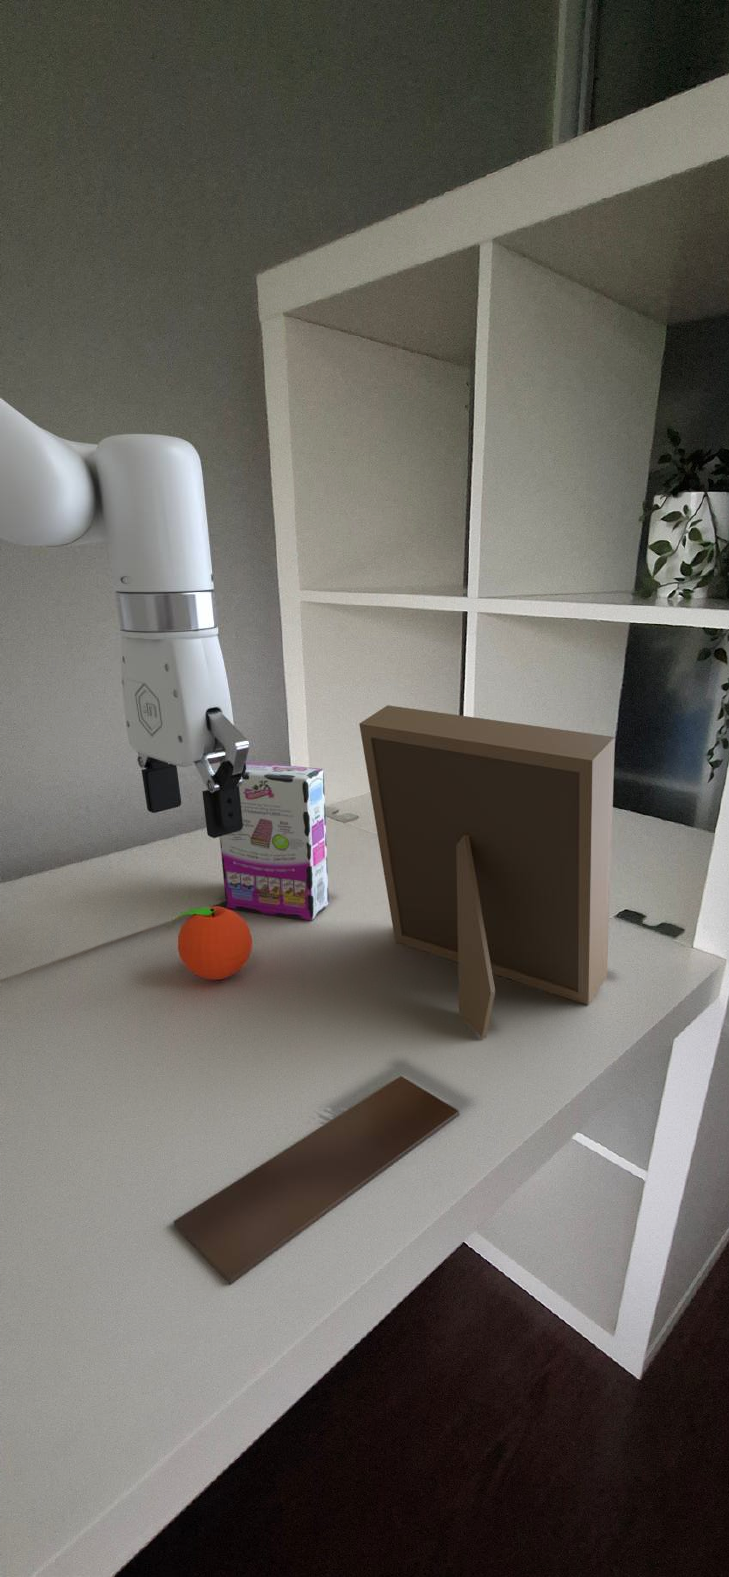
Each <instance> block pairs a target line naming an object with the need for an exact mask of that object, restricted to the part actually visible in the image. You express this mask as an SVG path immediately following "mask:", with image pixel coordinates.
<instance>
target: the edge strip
mask: <svg viewBox="0 0 729 1577" xmlns="http://www.w3.org/2000/svg"><path fill="white" fill-rule="evenodd" d="M459 1116H460V1110H458V1109H457V1108H455V1107H453V1106H452V1105H450V1104H449V1103H447V1102H445V1101H444V1100H442V1099H440V1098H438V1097H437V1096H436V1095H434V1094H431V1093H430V1092H428V1091H427V1090H426V1089H423V1088H422V1087H420V1086H418V1085H417V1084H415V1083H414V1082H413V1081H410V1080H408V1079H407V1078H405V1077H404V1076H402V1075H400V1076H399V1077H397V1078H395V1079H394V1080H392V1081H390V1082H389V1083H387V1084H386V1085H384V1086H383V1087H381V1088H379V1089H378V1090H376V1091H375V1092H373V1093H372V1094H370V1095H368V1096H367V1097H365V1098H364V1099H363V1100H361V1101H360V1102H358V1103H356V1104H355V1105H353V1106H351V1107H350V1108H348V1109H347V1110H345V1111H344V1112H342V1113H341V1114H339V1115H338V1116H336V1117H334V1118H332V1119H331V1120H330V1121H328V1122H326V1123H325V1124H323V1125H322V1126H320V1127H319V1128H317V1129H316V1130H314V1131H312V1132H311V1133H309V1134H308V1135H306V1136H305V1137H303V1138H301V1139H300V1140H298V1141H297V1142H295V1143H294V1144H292V1145H290V1146H289V1147H287V1148H286V1149H284V1150H283V1151H281V1152H279V1153H278V1154H276V1155H275V1156H273V1157H272V1158H270V1159H268V1160H267V1161H266V1162H264V1163H262V1164H260V1165H259V1166H258V1167H255V1168H254V1169H253V1170H251V1171H250V1172H248V1173H247V1174H245V1175H244V1176H242V1177H241V1178H239V1179H236V1181H234V1182H233V1183H231V1184H230V1185H228V1186H226V1187H225V1188H223V1189H222V1190H220V1191H218V1192H217V1193H216V1194H214V1195H212V1196H211V1197H209V1198H207V1199H206V1200H205V1201H203V1202H201V1203H200V1204H199V1205H196V1207H194V1208H192V1209H190V1210H189V1211H187V1212H186V1213H184V1214H182V1215H181V1216H180V1217H178V1218H176V1219H174V1221H173V1226H174V1227H175V1228H176V1229H177V1230H178V1232H180V1233H181V1234H182V1235H183V1237H184V1238H185V1239H187V1241H188V1242H189V1243H190V1244H191V1245H192V1246H193V1247H194V1248H195V1249H196V1250H197V1251H198V1252H199V1253H200V1254H201V1255H202V1257H204V1258H205V1260H207V1262H208V1263H209V1264H210V1265H211V1266H212V1267H213V1268H215V1270H216V1271H217V1272H218V1273H219V1274H220V1275H221V1276H222V1277H223V1278H224V1279H225V1280H226V1281H227V1282H228V1283H229V1284H230V1285H233V1283H235V1282H236V1281H238V1280H239V1279H240V1278H242V1277H243V1276H244V1275H246V1274H248V1272H250V1271H252V1269H254V1268H256V1266H258V1265H259V1264H261V1263H262V1262H263V1261H265V1260H266V1259H268V1258H269V1257H270V1256H271V1255H273V1254H274V1253H276V1252H277V1251H279V1249H281V1248H282V1247H284V1246H285V1245H286V1244H288V1243H289V1242H290V1241H292V1240H293V1239H294V1238H296V1237H297V1236H299V1235H300V1234H301V1233H303V1232H304V1231H305V1230H306V1229H308V1228H309V1227H311V1226H312V1225H313V1224H314V1223H316V1222H317V1221H319V1220H320V1219H321V1218H323V1217H324V1216H326V1215H327V1214H328V1213H329V1212H331V1211H333V1209H335V1208H337V1206H339V1205H340V1204H342V1203H343V1202H345V1201H346V1200H347V1199H348V1198H349V1197H351V1196H352V1195H354V1194H356V1192H358V1191H359V1190H361V1189H362V1188H363V1187H364V1186H366V1185H367V1184H369V1183H370V1182H371V1181H373V1180H374V1179H375V1178H377V1177H378V1176H380V1175H381V1174H383V1173H384V1172H385V1171H386V1170H388V1169H389V1168H390V1167H392V1166H393V1165H394V1164H396V1163H397V1162H398V1161H399V1160H401V1159H403V1158H404V1157H405V1156H406V1155H408V1154H409V1153H411V1152H412V1151H413V1150H414V1149H416V1148H417V1147H419V1146H420V1145H421V1144H422V1143H424V1142H425V1141H426V1140H428V1139H429V1138H431V1137H432V1136H434V1134H436V1133H437V1132H439V1131H440V1130H442V1129H443V1128H444V1127H446V1126H447V1125H448V1124H450V1123H451V1122H452V1121H454V1120H455V1119H456V1118H457V1117H459Z"/></svg>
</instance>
